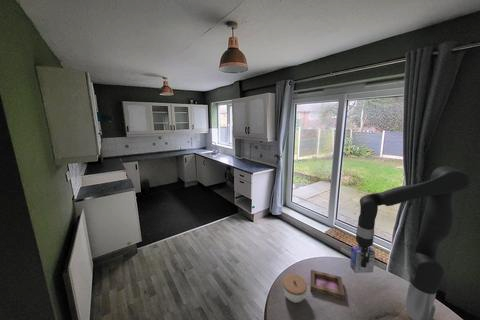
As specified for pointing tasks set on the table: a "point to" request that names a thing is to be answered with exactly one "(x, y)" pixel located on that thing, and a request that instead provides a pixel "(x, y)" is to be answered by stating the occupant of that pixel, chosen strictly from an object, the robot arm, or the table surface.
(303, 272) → the table surface
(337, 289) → the picture frame
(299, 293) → the lidded bowl
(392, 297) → the table surface
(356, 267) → the ink cartridge box
